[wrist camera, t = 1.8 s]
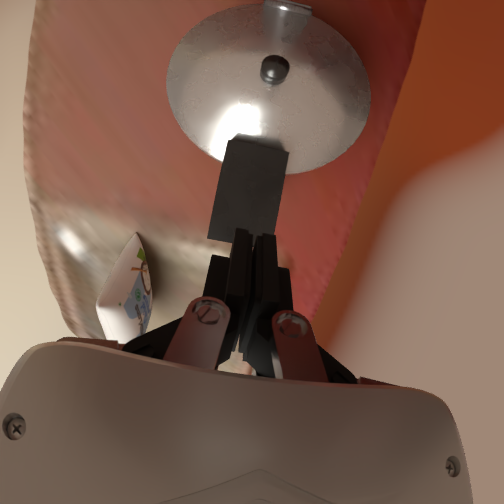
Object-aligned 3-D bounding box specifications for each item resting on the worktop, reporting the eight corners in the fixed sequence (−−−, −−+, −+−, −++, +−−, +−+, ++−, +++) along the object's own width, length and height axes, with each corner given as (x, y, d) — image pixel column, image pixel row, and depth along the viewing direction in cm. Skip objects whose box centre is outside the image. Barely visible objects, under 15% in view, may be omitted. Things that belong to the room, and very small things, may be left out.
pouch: (130, 299, 66) (101, 369, 50) (122, 229, 55) (76, 301, 39) (162, 305, 66) (139, 379, 50) (160, 235, 55) (124, 313, 39)
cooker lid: (200, -5, 23) (199, -20, 21) (369, 33, 25) (378, 22, 22) (130, 223, 25) (120, 222, 22) (343, 263, 26) (355, 267, 24)
